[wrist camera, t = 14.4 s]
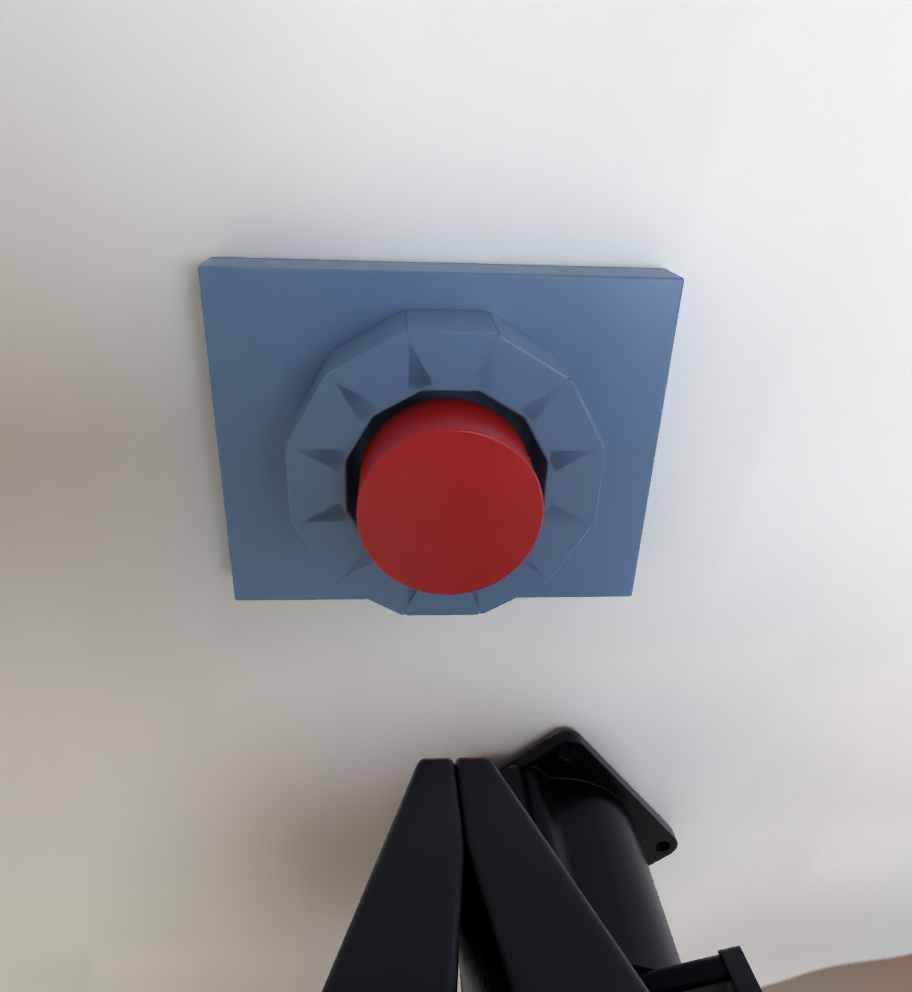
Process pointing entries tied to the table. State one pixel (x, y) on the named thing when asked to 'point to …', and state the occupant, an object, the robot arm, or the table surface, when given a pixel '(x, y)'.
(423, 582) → the red button
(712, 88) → the table surface
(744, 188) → the table surface
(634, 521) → the button box
